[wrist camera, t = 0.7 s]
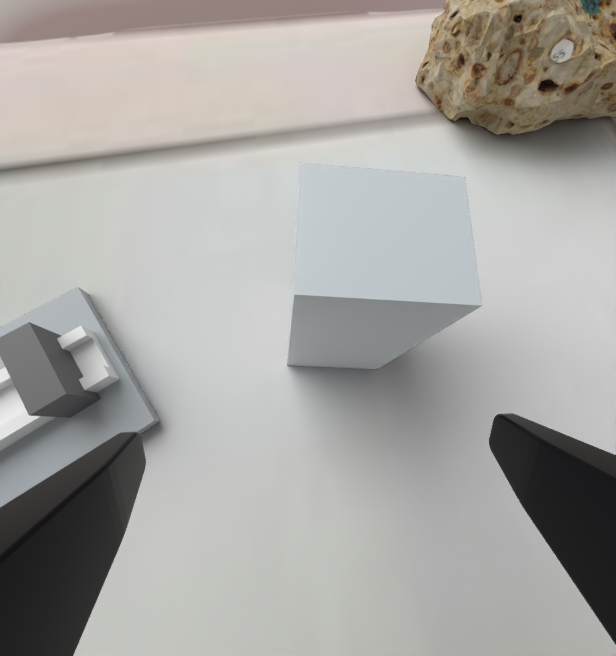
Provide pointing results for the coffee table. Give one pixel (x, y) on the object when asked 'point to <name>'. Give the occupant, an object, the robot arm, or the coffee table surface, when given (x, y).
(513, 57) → the rock
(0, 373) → the rail
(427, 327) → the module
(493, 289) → the coffee table surface
